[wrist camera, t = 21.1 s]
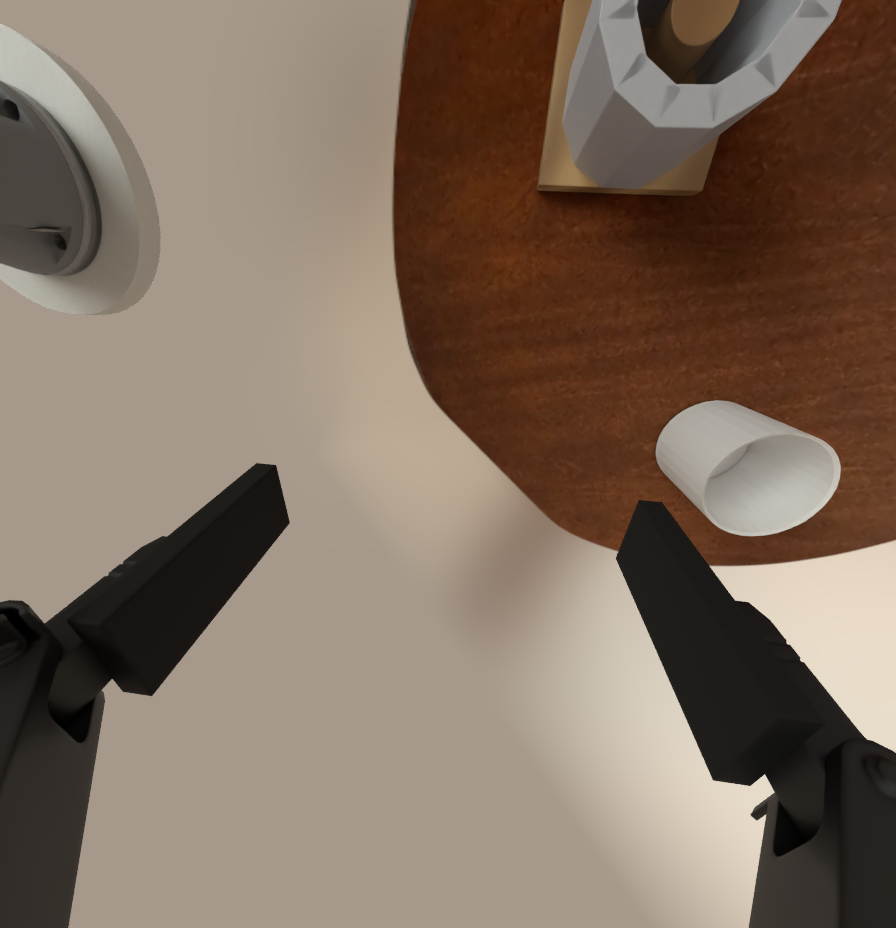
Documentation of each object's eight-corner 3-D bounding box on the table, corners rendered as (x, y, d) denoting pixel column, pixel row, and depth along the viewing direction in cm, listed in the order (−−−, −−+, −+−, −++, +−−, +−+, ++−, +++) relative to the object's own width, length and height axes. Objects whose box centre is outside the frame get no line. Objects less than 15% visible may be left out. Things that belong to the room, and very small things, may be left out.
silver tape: (552, 186, 26) (580, 125, 17) (582, -8, 22) (640, -223, 13) (688, 191, 25) (793, 130, 16) (748, -11, 21) (934, -244, 12)
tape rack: (536, 190, 28) (555, 137, 19) (561, 9, 23) (602, -175, 14) (692, 196, 27) (791, 142, 18) (749, 7, 22) (918, -193, 13)
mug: (637, 433, 35) (682, 475, 27) (732, 380, 32) (816, 407, 23) (689, 515, 38) (742, 575, 30) (779, 474, 35) (869, 528, 26)
